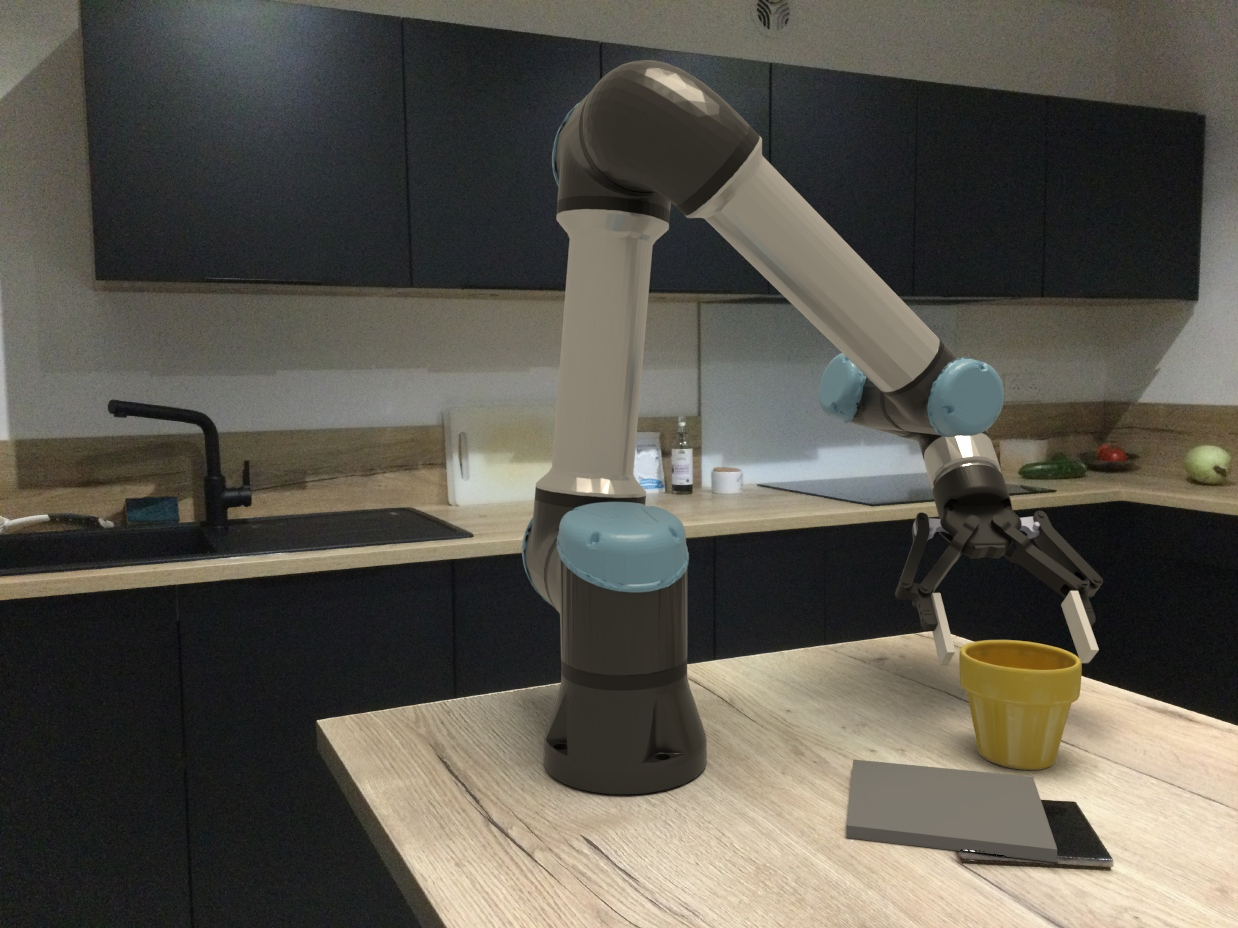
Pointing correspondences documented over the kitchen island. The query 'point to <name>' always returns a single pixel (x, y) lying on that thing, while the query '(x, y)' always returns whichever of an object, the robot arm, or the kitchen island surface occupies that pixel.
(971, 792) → the trivet mat
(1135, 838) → the kitchen island surface
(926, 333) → the robot arm
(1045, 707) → the plant pot
